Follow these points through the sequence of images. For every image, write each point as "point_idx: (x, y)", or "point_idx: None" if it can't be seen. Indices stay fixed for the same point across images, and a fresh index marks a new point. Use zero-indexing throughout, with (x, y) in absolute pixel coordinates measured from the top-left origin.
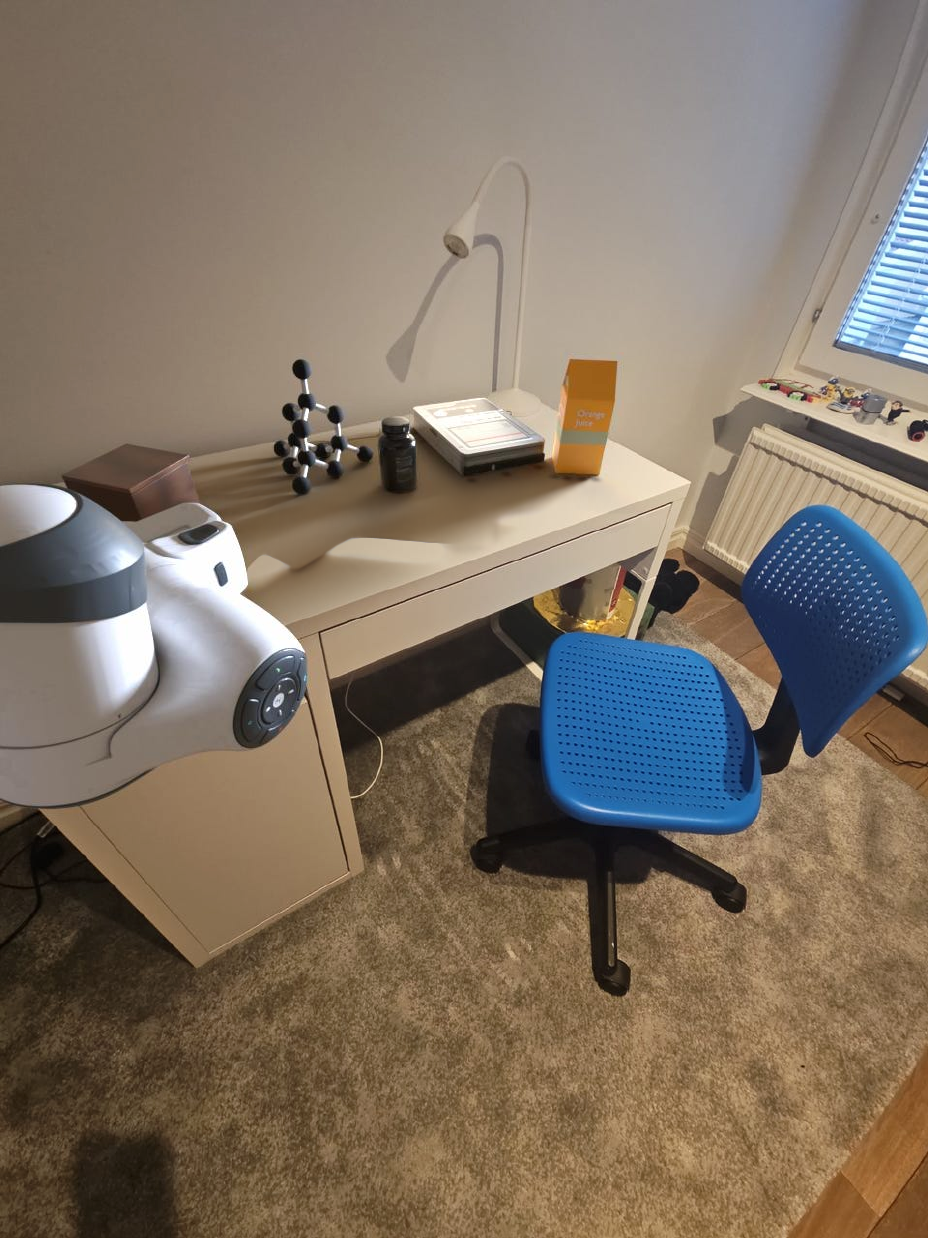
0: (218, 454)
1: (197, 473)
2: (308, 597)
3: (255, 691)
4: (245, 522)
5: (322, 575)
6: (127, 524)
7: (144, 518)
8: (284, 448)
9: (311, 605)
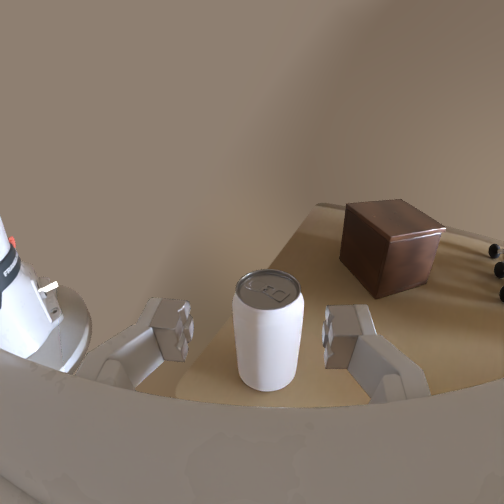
0: (448, 233)
1: None
2: None
3: None
4: (456, 307)
5: None
6: (403, 372)
7: (386, 267)
8: (497, 252)
9: None
